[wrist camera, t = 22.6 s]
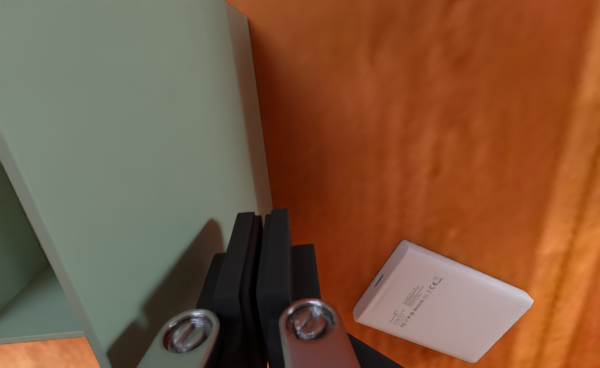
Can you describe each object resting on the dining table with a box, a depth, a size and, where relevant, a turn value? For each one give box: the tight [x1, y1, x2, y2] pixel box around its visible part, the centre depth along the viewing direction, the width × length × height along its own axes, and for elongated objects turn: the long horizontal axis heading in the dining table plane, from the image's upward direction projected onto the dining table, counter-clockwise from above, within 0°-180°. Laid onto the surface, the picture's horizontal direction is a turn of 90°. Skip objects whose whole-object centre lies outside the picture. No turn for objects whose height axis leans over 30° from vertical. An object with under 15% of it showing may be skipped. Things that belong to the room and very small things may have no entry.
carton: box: [0, 2, 273, 345], centre depth 19 cm, size 16×18×8 cm
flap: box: [0, 0, 258, 368], centre depth 11 cm, size 16×9×1 cm
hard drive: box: [353, 239, 533, 363], centre depth 27 cm, size 2×8×12 cm
